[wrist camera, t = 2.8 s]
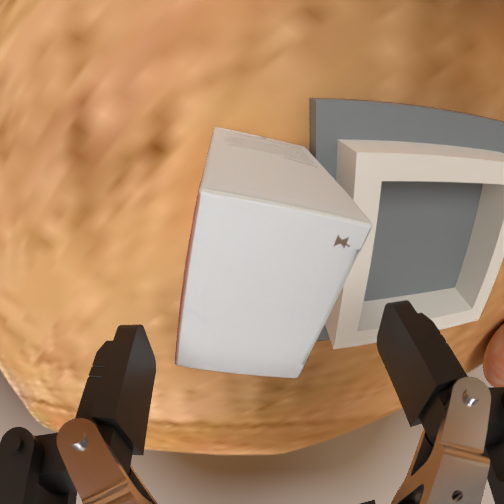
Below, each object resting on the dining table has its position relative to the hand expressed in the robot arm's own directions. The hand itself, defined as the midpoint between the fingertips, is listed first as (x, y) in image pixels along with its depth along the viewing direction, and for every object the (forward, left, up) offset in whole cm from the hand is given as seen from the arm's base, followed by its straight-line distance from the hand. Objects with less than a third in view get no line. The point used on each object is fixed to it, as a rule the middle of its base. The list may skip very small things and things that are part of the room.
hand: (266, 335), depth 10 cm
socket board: (+3, +12, -12) cm, 17 cm away
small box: (0, 0, -12) cm, 12 cm away
